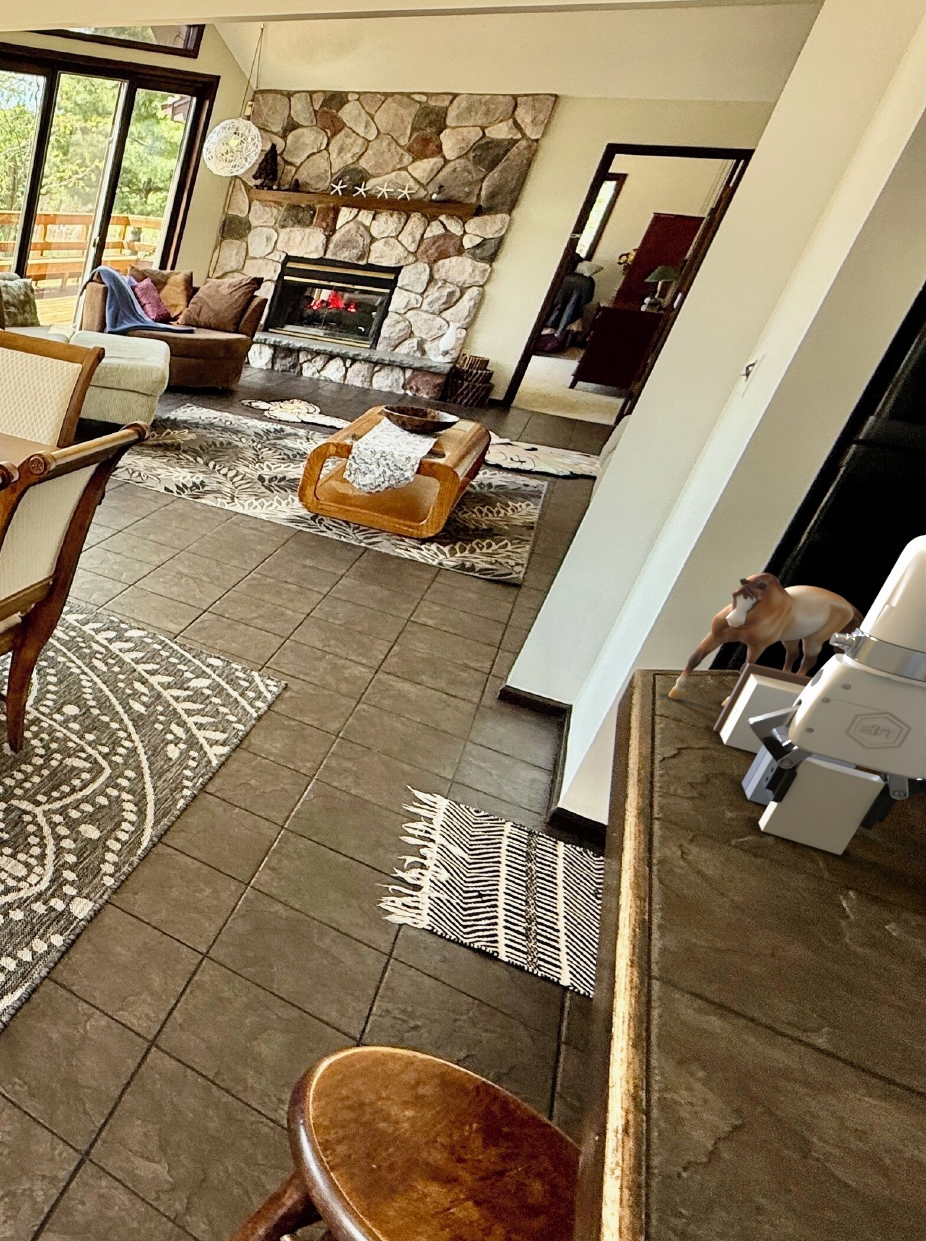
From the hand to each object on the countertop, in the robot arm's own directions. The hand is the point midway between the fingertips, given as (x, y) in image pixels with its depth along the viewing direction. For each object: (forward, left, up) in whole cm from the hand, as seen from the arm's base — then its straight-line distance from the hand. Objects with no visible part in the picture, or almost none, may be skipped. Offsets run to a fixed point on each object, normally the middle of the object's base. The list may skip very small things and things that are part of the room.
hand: (816, 808), depth 94 cm
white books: (0, -25, -4) cm, 25 cm away
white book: (0, 0, -4) cm, 4 cm away
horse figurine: (-4, -42, -4) cm, 42 cm away
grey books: (0, -9, -4) cm, 10 cm away
